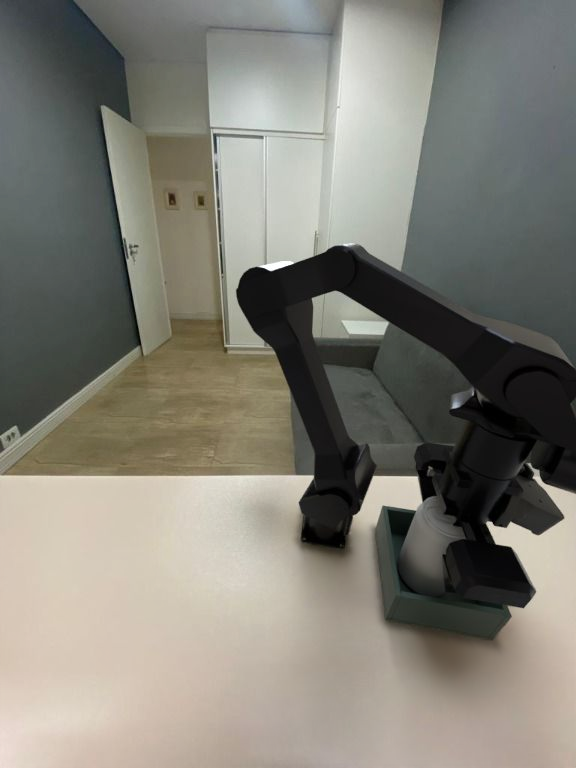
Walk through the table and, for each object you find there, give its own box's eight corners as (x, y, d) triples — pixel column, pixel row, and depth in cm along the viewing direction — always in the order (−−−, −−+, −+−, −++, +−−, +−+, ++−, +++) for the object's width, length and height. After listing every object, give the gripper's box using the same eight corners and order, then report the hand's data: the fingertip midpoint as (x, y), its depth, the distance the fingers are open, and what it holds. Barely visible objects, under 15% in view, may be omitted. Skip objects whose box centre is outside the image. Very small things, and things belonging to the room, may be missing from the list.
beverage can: (451, 606, 38) (488, 547, 32) (398, 593, 39) (424, 533, 33) (440, 556, 44) (469, 498, 38) (393, 546, 44) (415, 488, 39)
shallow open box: (385, 619, 37) (395, 595, 34) (375, 529, 47) (382, 505, 45) (492, 640, 36) (512, 616, 33) (457, 542, 46) (470, 518, 43)
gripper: (655, 564, 22) (551, 658, 30) (522, 416, 38) (476, 502, 46) (492, 538, 23) (432, 635, 31) (429, 405, 39) (400, 490, 47)
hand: (438, 552), depth 39 cm, fingers open, 9 cm apart
